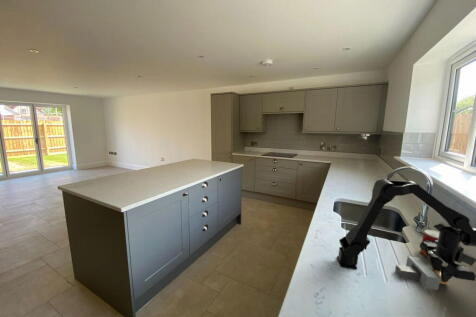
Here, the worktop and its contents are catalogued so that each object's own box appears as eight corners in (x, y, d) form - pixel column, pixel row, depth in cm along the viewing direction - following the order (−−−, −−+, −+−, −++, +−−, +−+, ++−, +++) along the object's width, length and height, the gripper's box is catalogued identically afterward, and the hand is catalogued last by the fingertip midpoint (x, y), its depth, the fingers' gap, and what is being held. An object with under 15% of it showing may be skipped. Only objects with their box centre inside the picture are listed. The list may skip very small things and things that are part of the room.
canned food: (416, 251, 97) (420, 231, 95) (426, 248, 99) (430, 228, 97) (436, 262, 90) (441, 239, 88) (446, 258, 92) (451, 236, 90)
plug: (400, 277, 80) (401, 270, 79) (395, 270, 83) (396, 264, 83) (447, 284, 77) (448, 277, 76) (439, 277, 80) (441, 271, 80)
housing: (425, 288, 75) (428, 276, 74) (405, 266, 86) (407, 256, 85) (437, 290, 74) (440, 278, 73) (416, 267, 85) (418, 257, 85)
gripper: (500, 262, 65) (489, 302, 68) (452, 232, 83) (445, 265, 86) (460, 256, 67) (450, 296, 70) (422, 228, 85) (415, 261, 88)
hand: (440, 278), depth 79 cm, fingers closed on plug, 4 cm apart
